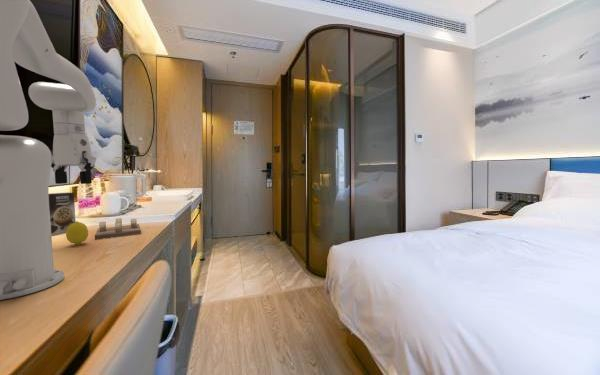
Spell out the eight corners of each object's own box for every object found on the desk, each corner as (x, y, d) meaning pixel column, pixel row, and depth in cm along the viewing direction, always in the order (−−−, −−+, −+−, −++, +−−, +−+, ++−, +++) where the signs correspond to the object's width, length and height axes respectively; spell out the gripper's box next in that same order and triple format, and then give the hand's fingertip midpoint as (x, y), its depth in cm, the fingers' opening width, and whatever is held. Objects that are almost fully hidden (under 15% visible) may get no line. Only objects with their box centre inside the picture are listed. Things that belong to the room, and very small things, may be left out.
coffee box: (51, 236, 97) (48, 194, 96) (38, 235, 98) (35, 194, 97) (77, 230, 106) (74, 192, 105) (65, 230, 107) (62, 192, 106)
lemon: (88, 241, 88) (86, 219, 87) (89, 245, 84) (87, 221, 83) (66, 245, 84) (65, 221, 84) (66, 248, 80) (65, 223, 80)
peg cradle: (140, 233, 98) (140, 221, 98) (94, 239, 90) (94, 226, 90) (139, 227, 110) (138, 216, 110) (98, 232, 102) (97, 220, 101)
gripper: (103, 131, 84) (106, 183, 85) (60, 133, 87) (64, 182, 88) (80, 128, 76) (84, 184, 78) (34, 129, 79) (38, 184, 81)
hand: (73, 183), depth 83 cm, fingers open, 9 cm apart
